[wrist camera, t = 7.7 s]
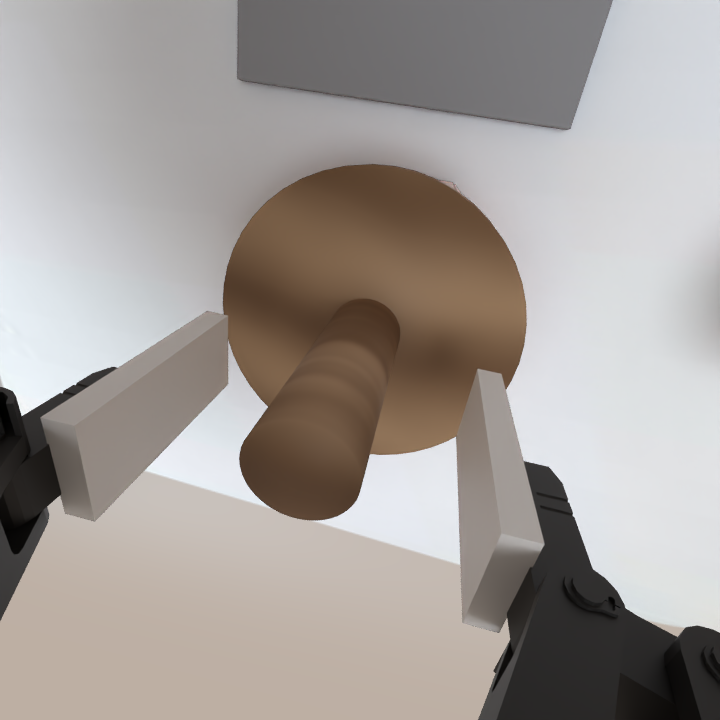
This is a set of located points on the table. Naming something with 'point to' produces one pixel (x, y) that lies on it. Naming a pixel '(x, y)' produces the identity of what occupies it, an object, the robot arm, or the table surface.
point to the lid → (363, 327)
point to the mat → (429, 52)
